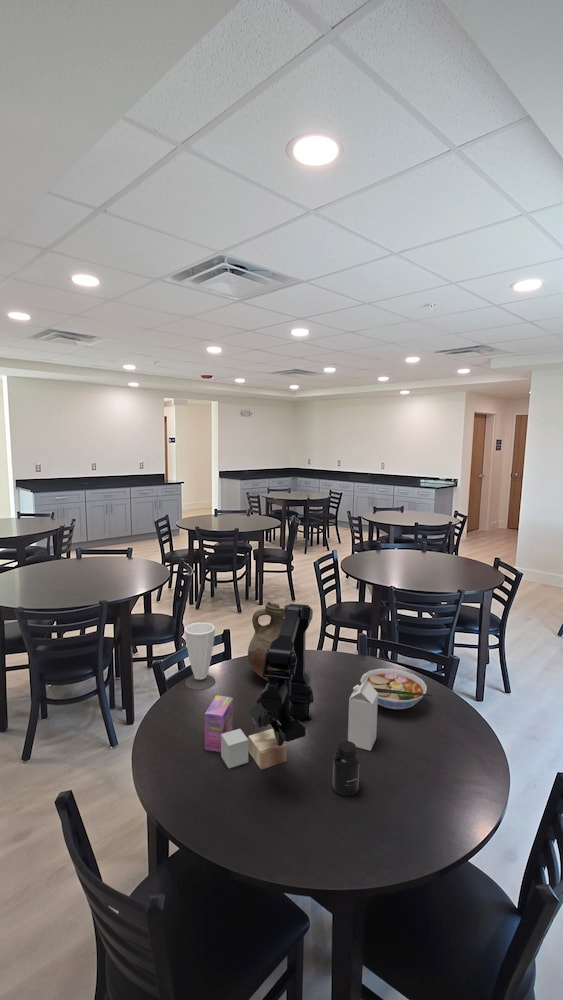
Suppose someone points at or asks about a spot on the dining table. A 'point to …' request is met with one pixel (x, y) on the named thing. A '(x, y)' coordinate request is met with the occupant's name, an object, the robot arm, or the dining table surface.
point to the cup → (200, 654)
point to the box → (218, 722)
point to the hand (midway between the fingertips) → (279, 745)
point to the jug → (264, 636)
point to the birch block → (266, 749)
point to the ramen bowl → (396, 687)
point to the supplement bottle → (346, 769)
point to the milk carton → (363, 716)
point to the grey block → (234, 748)
